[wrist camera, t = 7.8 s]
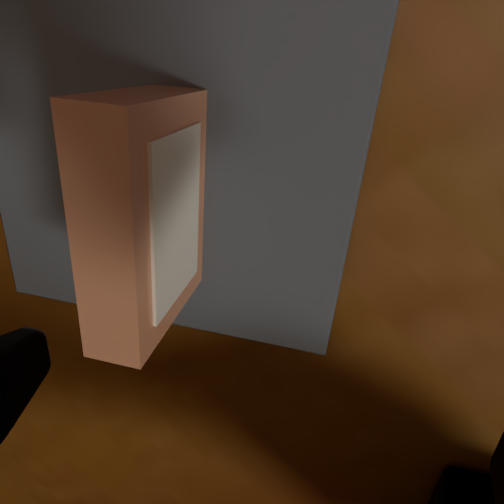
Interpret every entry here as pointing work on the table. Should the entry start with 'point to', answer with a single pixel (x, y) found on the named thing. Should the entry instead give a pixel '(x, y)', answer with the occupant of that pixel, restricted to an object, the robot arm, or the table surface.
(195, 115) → the tile
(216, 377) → the table surface
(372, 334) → the table surface
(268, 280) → the mat
